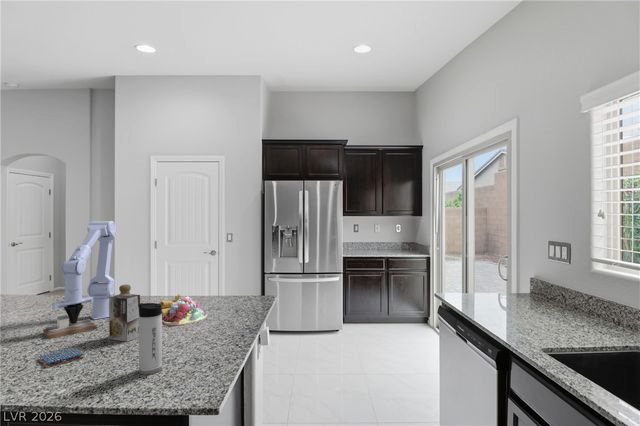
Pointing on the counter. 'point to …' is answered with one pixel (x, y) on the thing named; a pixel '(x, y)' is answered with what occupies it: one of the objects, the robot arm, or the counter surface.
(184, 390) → the counter surface
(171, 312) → the candy landscape model
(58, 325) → the fader knob
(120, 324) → the coffee box
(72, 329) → the fader board
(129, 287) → the cork
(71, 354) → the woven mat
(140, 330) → the travel mug
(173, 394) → the counter surface
